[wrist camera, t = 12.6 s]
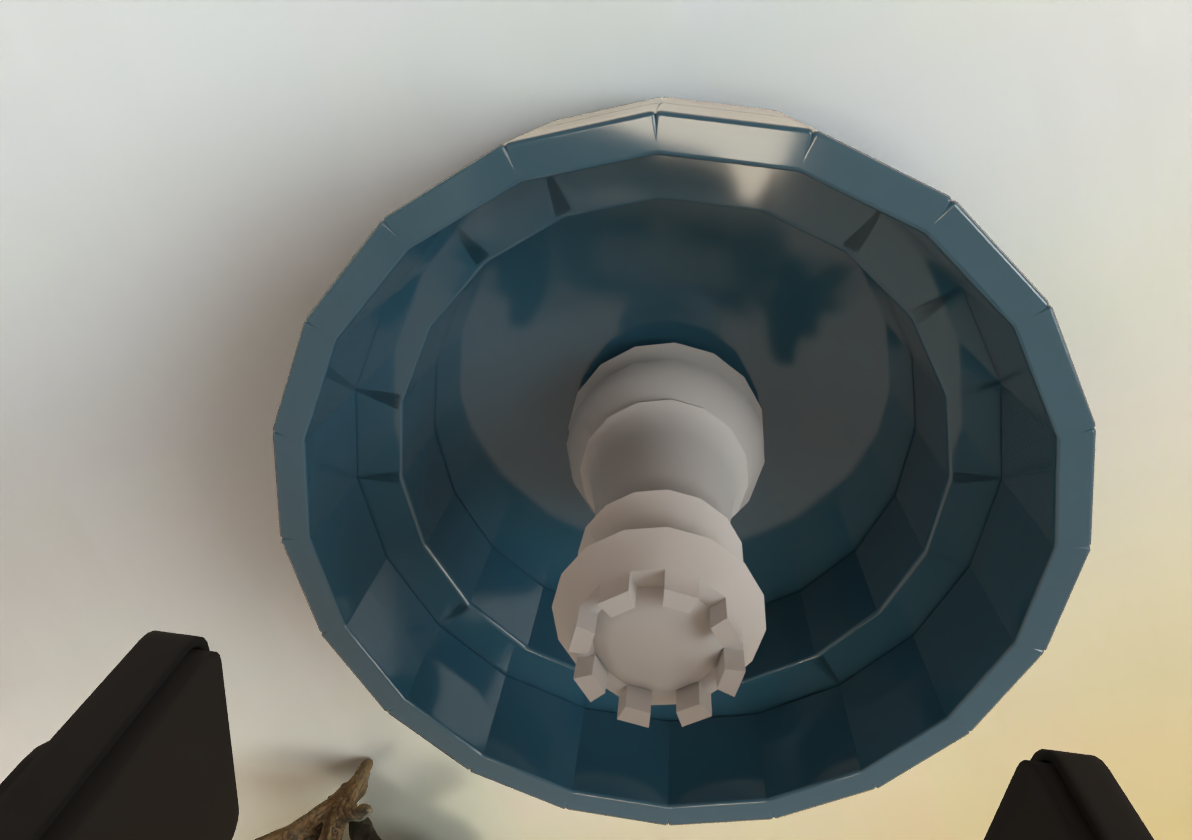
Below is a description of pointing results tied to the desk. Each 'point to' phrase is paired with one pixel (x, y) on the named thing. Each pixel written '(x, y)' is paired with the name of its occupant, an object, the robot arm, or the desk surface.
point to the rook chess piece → (662, 532)
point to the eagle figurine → (335, 814)
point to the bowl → (782, 492)
